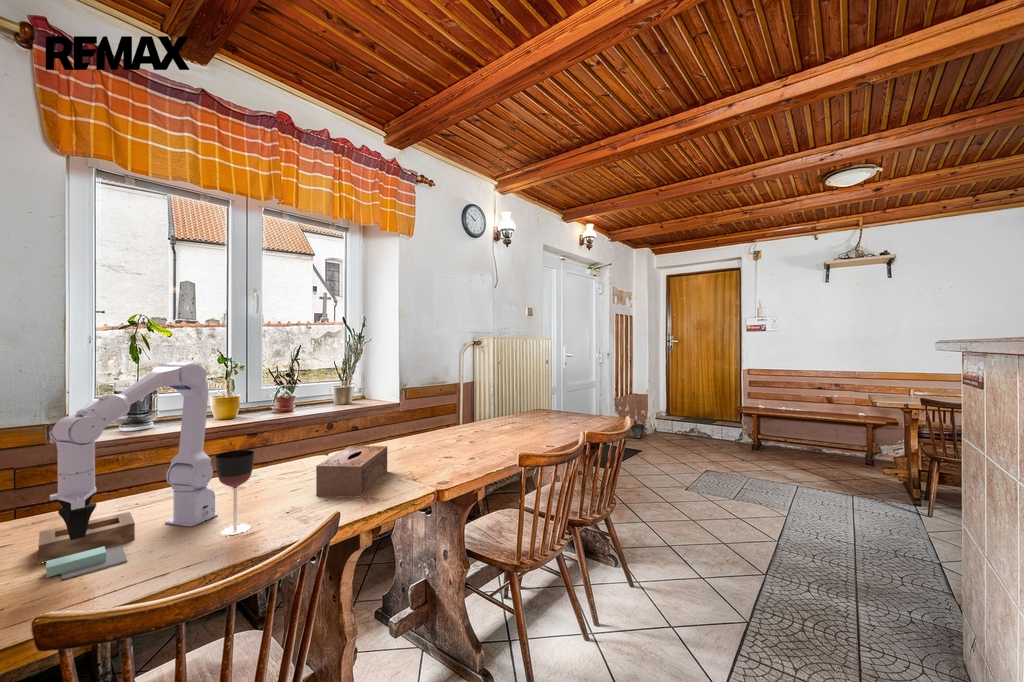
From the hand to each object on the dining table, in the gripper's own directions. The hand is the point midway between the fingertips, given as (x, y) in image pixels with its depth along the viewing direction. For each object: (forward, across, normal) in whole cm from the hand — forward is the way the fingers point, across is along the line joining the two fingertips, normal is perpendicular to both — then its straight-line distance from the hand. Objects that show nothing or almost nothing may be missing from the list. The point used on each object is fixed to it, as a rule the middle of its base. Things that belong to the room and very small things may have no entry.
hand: (77, 532), depth 92 cm
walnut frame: (+8, -13, +3) cm, 15 cm away
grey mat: (+8, 0, +3) cm, 8 cm away
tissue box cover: (+8, -7, +68) cm, 69 cm away
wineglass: (+8, +4, +29) cm, 30 cm away
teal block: (+7, 0, 0) cm, 7 cm away
